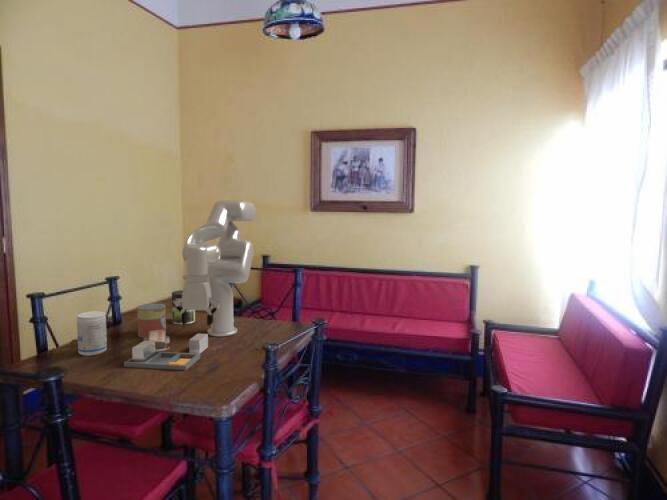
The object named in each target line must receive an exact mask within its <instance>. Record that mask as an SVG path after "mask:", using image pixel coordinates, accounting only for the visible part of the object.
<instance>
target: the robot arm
mask: <svg viewBox="0 0 667 500" xmlns="http://www.w3.org/2000/svg"><path fill="white" fill-rule="evenodd" d="M256 210H257V209H256V207H255V205H254V203H252V202H250V201H244V200H225V199H224V200H218V201H216V202H215V203H214V204H213V206H212V209H211V211H210V214H209V216H208V218H207V220H206V223H204V224H203V225H200V226H198V228H197V229H195V230H194V231H192V232H191V233H190V234H189V235H188V237H187V238H186V241H185V242H184V245H183V248H182V252H181V255H182V259H183V260H184V262H186V263H185V267H186V268H185V269H186V274H185V275H183V276H182V280H185V282H184V283H183V287H182V290H183V293H182V298H181V299H179V300H177V301H175V305H176V307H177V309H178V310H179V311H180V313H181V314H182V324H181V325H187V324H186V323H188V313H187V312H186V311H187V310H195V311H205V312H207V315H206V316H207V317H206V321H207V326H208V327H209V326H210V328H208V329H207V333H206V334H208V336H210V337H211V336H212V337H228V336H232V335H235V334H237V332H238V328H237V327H235V326H234V325H235V324H234V322H235V318H234V291H233V288H232V287H231V285H230V284H243V283H244V284H245V283H247V281H248V279H249V277H250V273H251V268H252V263H253V258H254V245H253V243H252V242H251V241H249V240H247V239H244V240H243V239H241V234H242V233H241V230H240V229H239V227H238V226H237V224H235V223H234V222H252V221H253V220H254V219H255V217H256V214H257V211H256ZM218 238H219V240H218V244H217V245H216V244H210V243H208V244H207V243H206V242H207V241H211V240H215V239H218ZM205 243H206V244H205ZM208 264H209V265H208ZM208 281H209V282H208ZM181 302H182V306H181V305H180V303H181Z"/></svg>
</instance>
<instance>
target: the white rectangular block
mask: <svg viewBox="0 0 667 500" xmlns="http://www.w3.org/2000/svg"><path fill="white" fill-rule="evenodd" d="M208 347H209V334H208V333H196V334H195V335H194V336H192V337H191V338H190V339H188V348H189V352H188V353H197V354H200V355H201V353H203V352H204V351H205V350H206V349H207V348H208Z"/></svg>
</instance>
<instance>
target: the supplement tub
mask: <svg viewBox="0 0 667 500" xmlns="http://www.w3.org/2000/svg"><path fill="white" fill-rule="evenodd" d="M76 318H77V319H76V327H77V328H76V329H77V330H76V331H77V349H78V350H77V351H78V354H80V355H82V356H88V357H89V356H97V355H100V354H102V353H105V351H107V350H108V349H107V348H108V345H107V344H108V340H107V317H106V312H104V311H101V310H100V311H99V310H93V311H92V310H91V311H85V312H81V313H79V314H77V316H76Z"/></svg>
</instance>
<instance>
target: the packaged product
mask: <svg viewBox="0 0 667 500" xmlns="http://www.w3.org/2000/svg"><path fill="white" fill-rule="evenodd" d="M170 340H171V339H170V336H169V335H168V336H167V331H166V332H165V330H151V331H149V332H148V338H146V337H145V338H144V337H143V340H142V342H143V341H155V351H159V352H164V351H166V350H169V348H170V346H168V345H167V344H170ZM167 346H168V348H167Z"/></svg>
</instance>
